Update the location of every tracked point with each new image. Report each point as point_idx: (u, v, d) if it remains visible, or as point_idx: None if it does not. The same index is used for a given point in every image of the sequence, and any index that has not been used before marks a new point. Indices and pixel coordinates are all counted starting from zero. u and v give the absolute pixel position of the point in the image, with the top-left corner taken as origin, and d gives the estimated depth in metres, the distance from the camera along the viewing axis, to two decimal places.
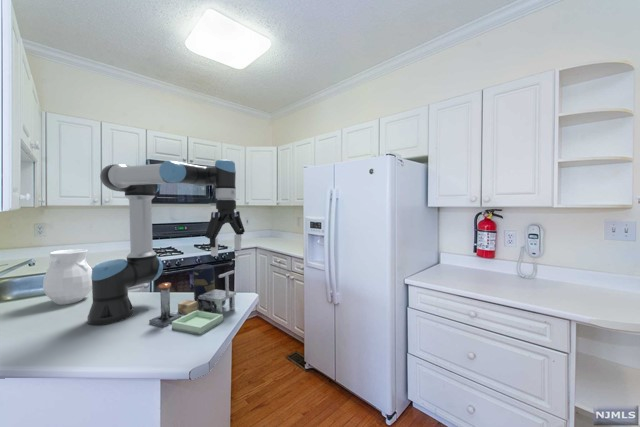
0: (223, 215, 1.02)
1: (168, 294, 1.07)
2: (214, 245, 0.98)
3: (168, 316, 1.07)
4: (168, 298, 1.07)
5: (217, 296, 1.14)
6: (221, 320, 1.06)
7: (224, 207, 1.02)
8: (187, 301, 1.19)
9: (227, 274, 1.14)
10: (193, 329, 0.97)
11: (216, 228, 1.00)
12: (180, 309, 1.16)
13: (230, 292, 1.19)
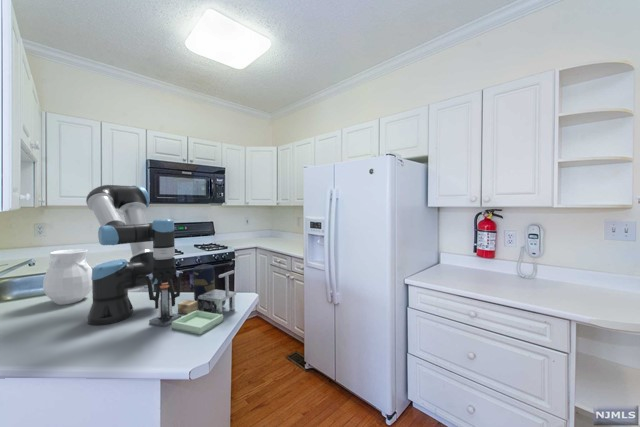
0: (155, 274, 1.05)
1: (168, 294, 1.07)
2: (157, 307, 1.05)
3: (168, 316, 1.07)
4: (168, 298, 1.07)
5: (217, 296, 1.14)
6: (221, 320, 1.06)
7: (154, 267, 1.04)
8: (187, 301, 1.19)
9: (227, 274, 1.14)
10: (193, 329, 0.97)
11: None
12: (180, 310, 1.16)
13: (230, 292, 1.19)
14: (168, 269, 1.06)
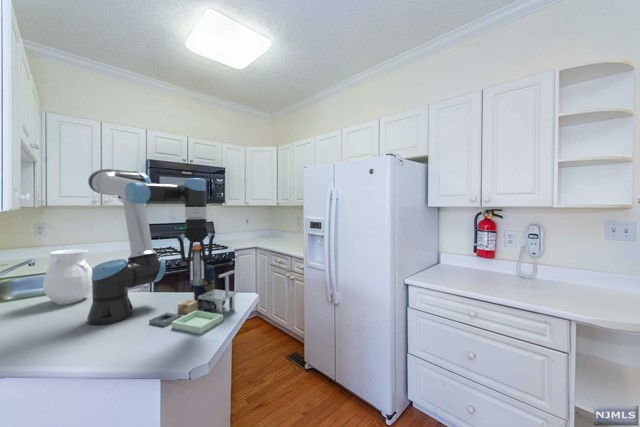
0: (188, 235, 1.01)
1: (200, 256, 1.03)
2: (189, 269, 1.01)
3: (200, 279, 1.03)
4: (200, 260, 1.03)
5: (217, 296, 1.14)
6: (221, 320, 1.06)
7: (187, 227, 1.00)
8: (186, 301, 1.19)
9: (227, 274, 1.14)
10: (193, 329, 0.97)
11: (188, 251, 1.02)
12: (180, 310, 1.16)
13: (230, 292, 1.19)
14: (200, 230, 1.02)
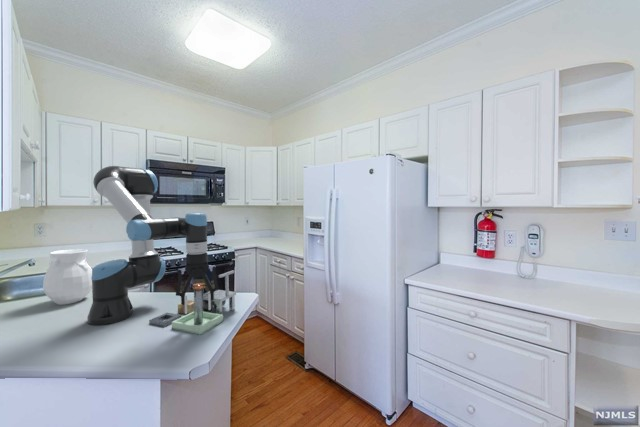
0: (188, 269, 1.01)
1: (202, 295, 1.04)
2: (183, 303, 1.01)
3: (201, 318, 1.03)
4: (202, 299, 1.04)
5: (217, 296, 1.14)
6: (221, 320, 1.06)
7: (188, 262, 1.00)
8: None
9: (227, 274, 1.14)
10: (193, 329, 0.97)
11: (185, 285, 1.01)
12: (180, 310, 1.15)
13: (230, 292, 1.19)
14: (201, 264, 1.03)
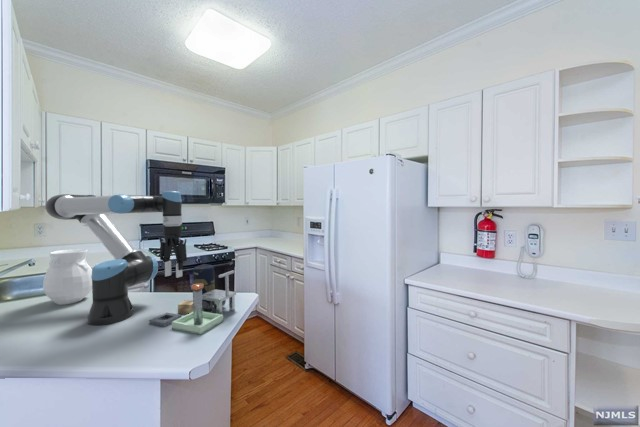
0: (166, 239, 1.19)
1: (201, 295, 1.03)
2: None
3: (201, 318, 1.03)
4: (201, 299, 1.03)
5: (217, 296, 1.14)
6: (221, 320, 1.06)
7: None
8: (186, 301, 1.19)
9: (227, 274, 1.14)
10: (193, 329, 0.97)
11: None
12: (180, 310, 1.15)
13: (230, 292, 1.19)
14: (173, 236, 1.18)
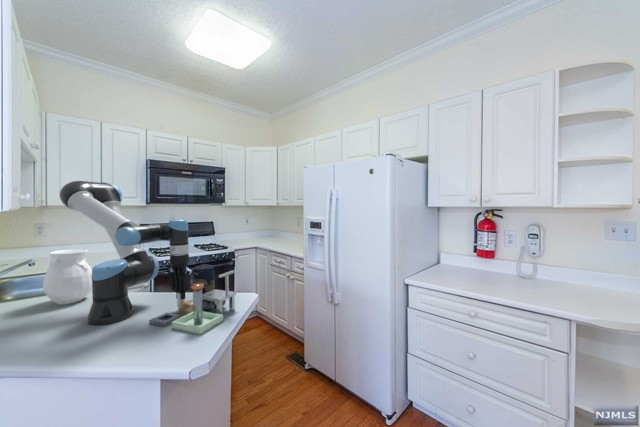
0: (173, 268, 1.19)
1: (201, 295, 1.03)
2: None
3: (201, 318, 1.03)
4: (201, 299, 1.03)
5: (217, 296, 1.14)
6: (221, 320, 1.06)
7: None
8: (186, 301, 1.18)
9: (227, 274, 1.14)
10: (193, 329, 0.97)
11: None
12: (181, 310, 1.15)
13: (230, 292, 1.19)
14: (180, 265, 1.17)
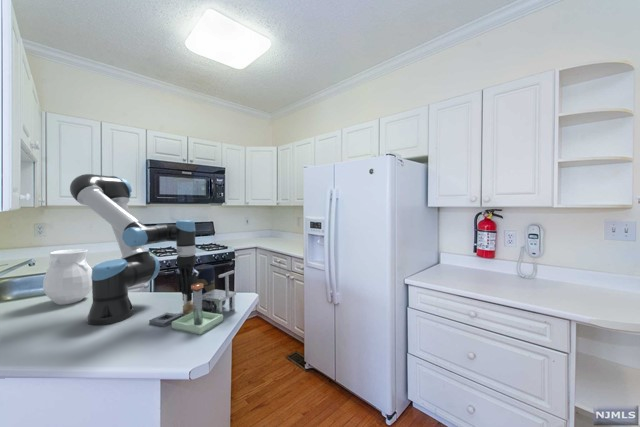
0: (179, 269, 1.17)
1: (201, 295, 1.03)
2: None
3: (201, 318, 1.03)
4: (201, 299, 1.03)
5: (217, 296, 1.14)
6: (221, 320, 1.06)
7: None
8: (192, 303, 1.17)
9: (227, 274, 1.14)
10: (193, 329, 0.97)
11: None
12: (185, 312, 1.14)
13: (230, 292, 1.19)
14: (187, 266, 1.16)
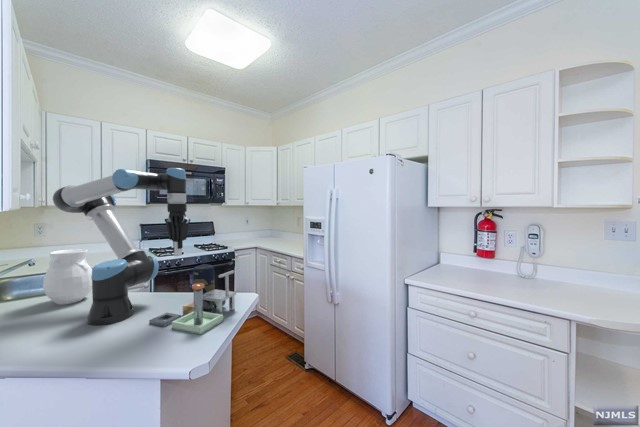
0: None
1: (201, 295, 1.03)
2: None
3: (201, 318, 1.03)
4: (201, 299, 1.03)
5: (217, 296, 1.14)
6: (221, 320, 1.06)
7: None
8: (192, 303, 1.17)
9: (227, 274, 1.14)
10: (193, 329, 0.97)
11: None
12: (185, 312, 1.14)
13: (230, 292, 1.19)
14: (177, 213, 1.17)
